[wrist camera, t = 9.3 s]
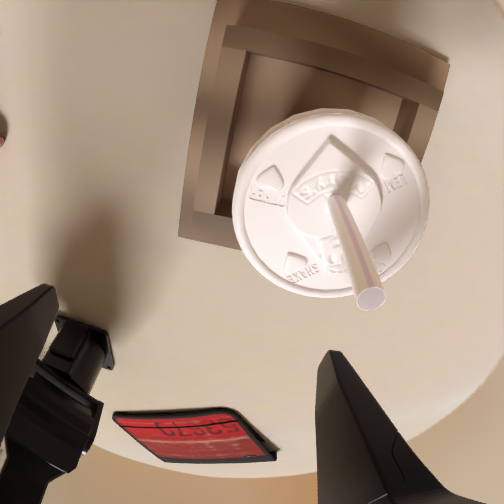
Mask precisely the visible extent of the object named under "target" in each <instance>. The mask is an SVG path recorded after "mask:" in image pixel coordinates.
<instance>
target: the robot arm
mask: <svg viewBox="0 0 504 504" xmlns="http://www.w3.org/2000/svg"><path fill="white" fill-rule="evenodd" d="M58 309H59V303H58V299H57V294H56V289H55V288H54V286H52V285H49V284H41V285H39V286H37V287H35V288H33V289H31V290H29V291H27V292H25V293H23V294H21V295H19V296H17V297H15V298H13V299H12V300H10V301H8V302H6V303H4V304H2V305H0V447H1V443H2V441H3V438H4V445H5V452H6V457H5V459H4V461H3V464H2V466H1V469H0V504H41V502H42V499H43V496H44V494H45V491H46V488H47V486H48V483H49V482H51V481H52V480H54V479H56V478H58V477H59V476H61V475H63V474H65V473H70V472H71V471H72V470H74V469H75V468H76V467H77V464H78V461H79V458H80V456H81V455H85V454H86V453H87V452H88V450H89V449H90V447H91V445H92V443H93V441H94V439H95V436H96V433H97V429H98V425H99V421H100V417H101V413H102V409H103V405H104V403H103V402H101V401H98V400H96V399H95V398H93V397H92V396H90V395H89V394H90V392H91V389H92V387H93V385H94V383H95V381H96V378H97V376H98V374H99V372H100V370H101V368H105V369H108V370H113V368H114V364H113V359H112V354H111V349H110V344H109V338H108V334H107V332H105V331H104V330H101V329H98V328H94V327H91V326H88V325H85V324H83V323H80V322H77V321H74V320H71V319H68V318H65V317H63V316H60V315H57V313H58ZM54 320H55V324H56V327H57V330H58V334H57V335H56V337H55V338H54V340H53V342H52V343H51V345H50V346H49V350H48V351H47V353H46V354H45V356H44V358H43V359H42V361H41V360H39V359H38V357H39V355H40V353H41V351H42V349H43V347H44V344H45V342H46V340H47V337H48V334H49V332H50V329H51V327H52V325H53V322H54ZM315 426H316V448H317V481H318V504H485V503H482V502H478V501H474V500H471V499H468V498H465V497H462V496H458V495H456V494H454V493H452V492H450V491H449V490H447V489H446V488H445V487H444V486H443V485H442V484H441V483H440V482H439V481H438V480H437V479H436V478H435V476H434V475H433V474H432V473H431V472H430V471H429V470H428V468H427V467H426V466H425V465H424V464H423V463H422V462H421V461H420V459H419V458H418V457H417V456H416V454H415V453H414V452H413V451H412V449H411V448H410V447H409V445H408V444H407V443H406V441H405V440H404V438H403V437H402V436H401V434H400V433H399V432H398V430H397V429H396V427H395V426H394V424H393V423H392V422H391V420H390V419H389V417H388V416H387V415H386V413H385V412H384V410H383V409H382V408H381V406H380V405H379V403H378V402H377V401H376V399H375V398H374V396H373V395H372V394H371V392H370V391H369V389H368V388H367V387H366V385H365V384H364V382H363V381H362V380H361V378H360V377H359V376H358V374H357V373H356V371H355V370H354V369H353V367H352V366H351V364H350V363H349V362H348V360H347V359H346V358H345V356H344V355H343V353H342V352H340V351H334V350H329V351H327V353H326V354H325V356H324V358H323V360H322V361H321V363H320V365H319V367H318V372H317V389H316V404H315Z"/></svg>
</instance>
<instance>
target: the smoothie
mask: <svg viewBox="0 0 504 504" xmlns="http://www.w3.org/2000/svg"><path fill="white" fill-rule="evenodd" d="M428 215H429V189H428V183H427V179H426V176H425V173H424V170H423V168H422V166H421V163H420V162H419V160H418V158H417V156H416V155H415V153H414V152H413V150H412V149H411V148H410V147H409V145H408V144H407V143H406V142H405V141H404V140H403V139H402V138H401V137H400V136H398V135H397V134H396V133H395V132H394V131H392V130H391V129H389V128H388V127H387V126H385V125H384V124H382V123H381V122H380V121H378V120H377V119H375V118H373V117H370V116H367V115H364V114H362V113H359V112H356V111H353V110H349V109H331V108H320V109H316V110H311V111H307V112H303V113H299V114H295V115H293V116H291V117H289V118H287V119H286V120H284V121H282V122H280V123H279V124H277V125H275V126H273V127H272V128H270V129H269V130H268V131H267V132H266V133H265V134H264V135H263V136H262V137H261V138H260V139H259V140H258V141H257V142H256V143H255V144H254V145H253V146H252V147H251V148H250V150H249V152H248V154H247V156H246V158H245V159H244V161H243V163H242V165H241V167H240V169H239V171H238V175H237V180H236V184H235V189H234V194H233V202H232V218H233V225H234V230H235V234H236V237H237V240H238V242H239V245H240V247H241V249H242V251H243V253H244V254H245V256H246V257H247V259H248V260H249V262H250V263H251V264H252V265H253V266H254V268H255V269H256V270H258V271H259V272H260V273H261V274H262V275H263V276H264V277H266V278H267V279H268V280H270V281H271V282H273V283H274V284H276V285H278V286H280V287H281V288H284V289H286V290H288V291H291V292H294V293H297V294H301V295H305V296H311V297H321V298H332V297H342V296H348V295H352V294H354V296H355V299H356V303H357V306H358V307H359V308H360V309H362V310H365V311H371V310H375V309H377V308H379V307H380V306H381V305H382V304H383V303H384V301H385V299H386V293H385V291H384V288H383V286H382V283H381V282H383V281H385V280H386V279H388V278H389V277H390V276H392V275H393V274H394V273H395V272H397V271H398V270H399V269H400V268H401V267H402V266H403V265H404V264H405V263H406V262H407V260H408V259H409V258H410V257H411V255H412V254H413V252H414V251H415V249H416V248H417V246H418V244H419V242H420V240H421V238H422V236H423V233H424V231H425V228H426V224H427V220H428Z"/></svg>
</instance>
